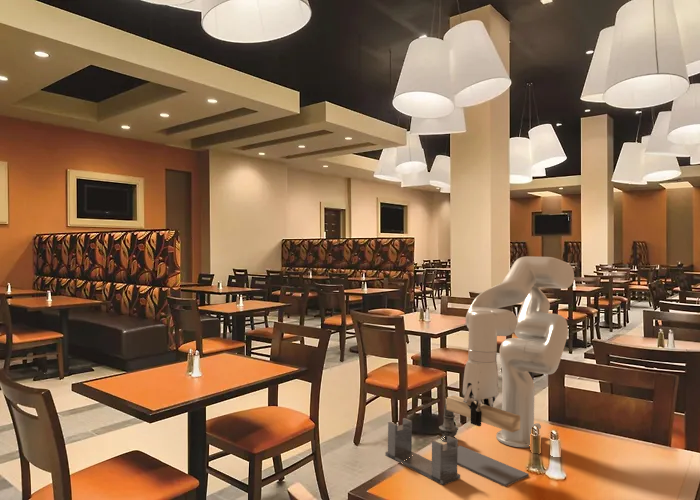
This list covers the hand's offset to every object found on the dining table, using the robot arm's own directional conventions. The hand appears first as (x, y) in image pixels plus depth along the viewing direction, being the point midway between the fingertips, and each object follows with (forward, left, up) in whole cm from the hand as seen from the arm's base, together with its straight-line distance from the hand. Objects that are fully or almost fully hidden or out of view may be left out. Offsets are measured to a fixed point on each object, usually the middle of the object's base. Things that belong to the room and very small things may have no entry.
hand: (480, 422), depth 137 cm
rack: (+14, -9, -12) cm, 20 cm away
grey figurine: (-7, -18, -12) cm, 23 cm away
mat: (0, 0, -12) cm, 12 cm away
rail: (0, 0, +1) cm, 1 cm away
